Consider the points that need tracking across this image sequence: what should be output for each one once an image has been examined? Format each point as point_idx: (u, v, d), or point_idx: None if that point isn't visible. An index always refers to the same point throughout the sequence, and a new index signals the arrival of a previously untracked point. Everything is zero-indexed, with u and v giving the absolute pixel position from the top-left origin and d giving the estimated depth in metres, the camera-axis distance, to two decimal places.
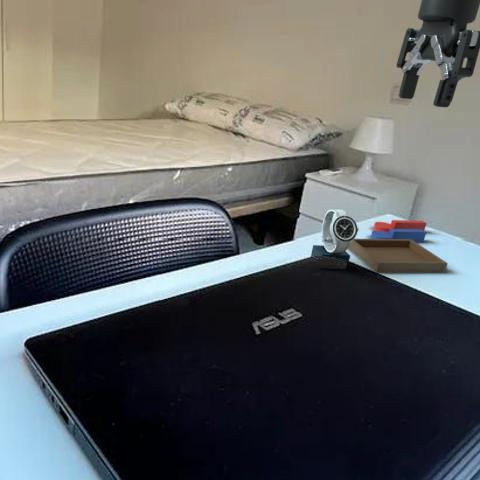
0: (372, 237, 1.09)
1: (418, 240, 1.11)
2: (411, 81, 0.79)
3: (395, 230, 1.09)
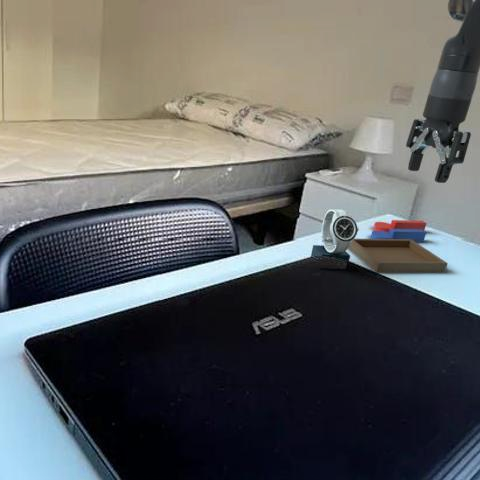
0: (372, 237, 1.09)
1: (418, 240, 1.11)
2: (417, 158, 1.05)
3: (395, 230, 1.09)
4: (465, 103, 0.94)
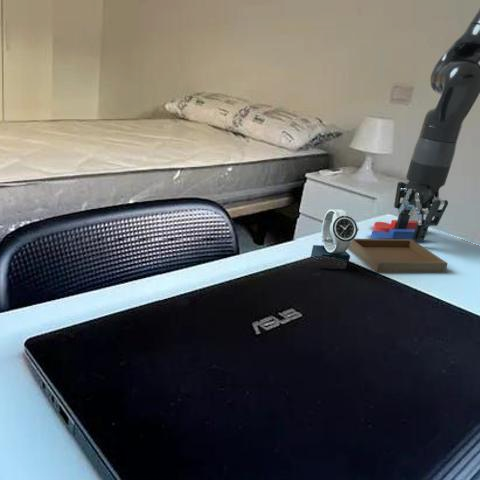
0: (372, 237, 1.09)
1: None
2: (404, 219, 1.12)
3: (395, 230, 1.09)
4: (444, 170, 1.01)
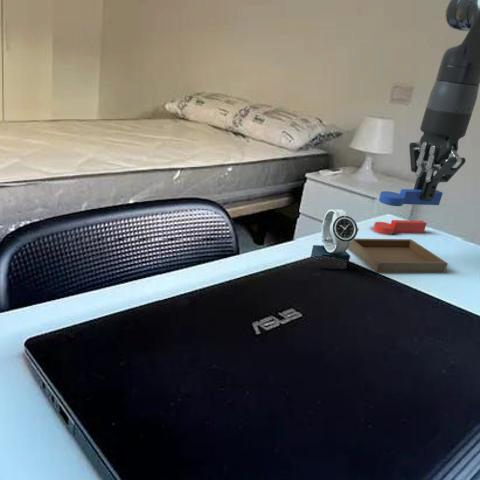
0: (381, 198, 0.96)
1: (433, 202, 0.97)
2: (423, 184, 0.97)
3: (407, 190, 0.96)
4: (465, 117, 0.88)
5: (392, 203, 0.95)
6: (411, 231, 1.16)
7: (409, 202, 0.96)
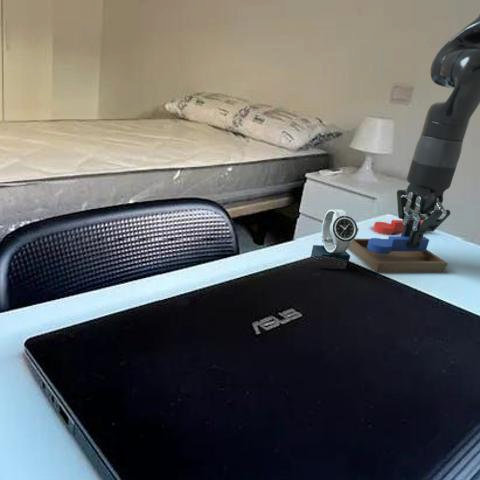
0: (369, 245, 0.99)
1: (420, 249, 1.00)
2: (410, 231, 1.00)
3: (394, 238, 0.98)
4: (449, 171, 0.90)
5: (380, 251, 0.97)
6: None
7: (397, 249, 0.99)
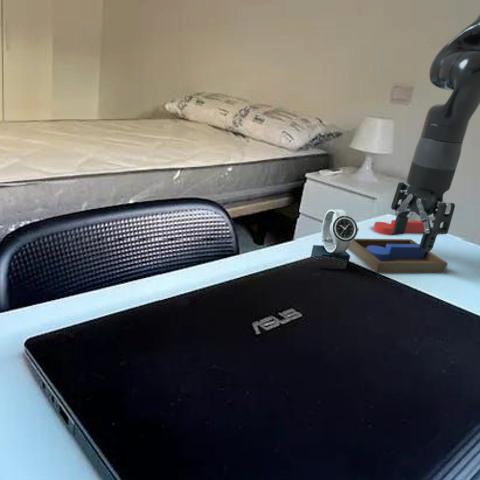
0: None
1: (417, 256, 1.00)
2: (402, 222, 1.02)
3: (392, 245, 0.99)
4: (449, 173, 0.91)
5: (378, 259, 0.98)
6: (411, 231, 1.16)
7: (394, 256, 1.00)
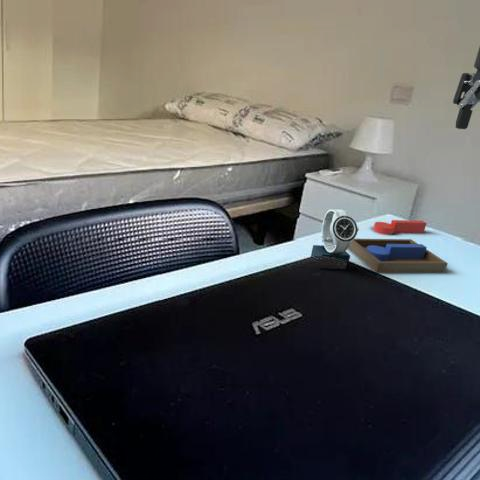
0: None
1: (417, 256, 1.00)
2: (466, 115, 0.99)
3: (392, 245, 0.99)
4: None
5: (378, 259, 0.98)
6: (411, 231, 1.16)
7: (394, 256, 1.00)
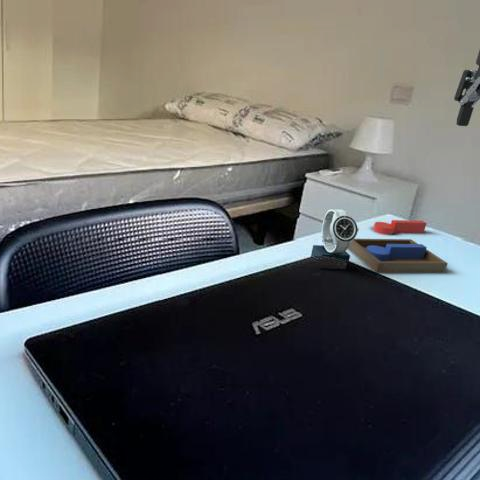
0: None
1: (417, 256, 1.00)
2: (467, 112, 0.98)
3: (392, 245, 0.99)
4: None
5: (378, 259, 0.98)
6: (411, 231, 1.16)
7: (394, 256, 1.00)
